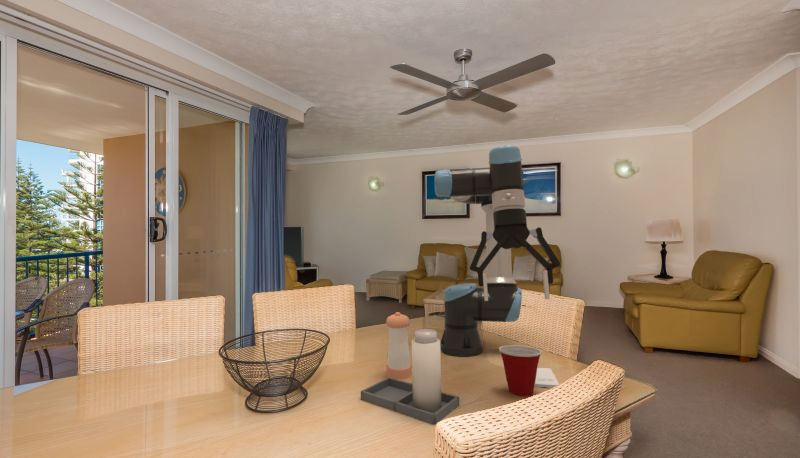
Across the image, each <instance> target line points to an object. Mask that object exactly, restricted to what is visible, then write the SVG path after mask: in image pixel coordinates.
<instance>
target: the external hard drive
mask: <svg viewBox="0 0 800 458" xmlns="http://www.w3.org/2000/svg"><path fill="white" fill-rule="evenodd" d="M557 385H560V383H559V382H558V379H557V377H556V376H555V374H554V371H552V368H550V367H549V368H548V367H537V374H536V380H535V384H534V388H536V389H537V388H540V389H541V388H546V389H553V388H552V387H555V386H557Z"/></svg>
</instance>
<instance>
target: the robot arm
mask: <svg viewBox="0 0 800 458" xmlns="http://www.w3.org/2000/svg"><path fill="white" fill-rule="evenodd" d="M520 150H521V149H520V148H519V147H518V146H516V145H513V144H507V145H499V146H496V147H493V148H492V149H490V150H489V153H488V164H489V167H474V168H457V169H456V168H455V169H452V168H451V169H449V168H446V169H440V170H436V171H435V173H434V179H433V180H434V193H435V196H436V197H438V198H450V199H451V200H453V201H455V202H458V203H463V204H469V205H481V206H480V208H481V210H482V211H483V212H484V213H485V231H481V235H480V237H481V238H480V242H479V244H478V247H477V249H476V252H475V254H474V256H473V259H472V262H471V264H470V265H469V269H470V270H471V271H472V272H475V273H477V279H478V285H477V283H473V282H472V283H470V282H469V283H467V282H466V283H458V284H454V285H449V286H447V287H446V288H445V289H444V293H443V294H444V295H443V296H444V299H443V302H444V329H443V332H442V336H441V339H440V352H441V353H444V354H446V355H450V356H455V357H473V356H478V355H480V354H482V353H483V352H484V343H483V341H482V337H481V334H480V332H479V329H478V327H479V326H478V322H492V323H493V322H499V323H511V322H512V323H513V322H515V323H516V322H517V321H518V320H519V318H520V315H521V310H522V299H523V295H522V293H523V292H522V291H523V290H522V288H520V287H517V282H516V281H515V280H514V279H513V271H512V270H513V268H512V264H513V263H512V249H515V250H516V249H521V248H523V249H525V250H526V251H527V253H529V254H530V255H531V256H532V257H533V258H534V259H535V260H536V261H537V262H538V263H539V264H540V265H541V266H542V267H543V268H544V269H545V270H542V271H541V272H542V273H541V274H542V283H543V293H544V299H545V300H550V299H551V297H550V287H549V285H553V283H554V275H553V270H554V269H555V268H558V267H560V266H561V262H560V261H559V259H558V257H557V256H556V255H555V253H554V251H553V250H552V248H551V247H550V245H549V243H548V242H547V240H546V239H545V237H544V234H543V230H542V228H541V227H537V228H533V229H529V227H528V224H527V223H528V222H527V211H526V210H525V209H524V208H526V202H525V191H524V180H523V166H522V165H523V164H522V160H523V159H522V155H521V151H520ZM530 235H531V236H532V237H533V238H534V239H536V240H537V242H538V244H539V245H540V247H541V248H542V250H543V251H544V252H545V254H546V257H548V259H549V261H550V262H551V263H549V261H547V259H546V258H544V257H543V256H542V255H541V254H540V253H539V252H538V251H537V250H536V249H535V248H534V247H533V246H532V245H531V244H530V243H529V242H528V241H527V239H528V238H529V237H530ZM485 247H486V258H485V259H484V260H483V261H482V263H481V264H480V265H479V266H478V263H479V261H480V259H481V257H482V254H483V252H484V249H485ZM485 269H486V272H484V271H485ZM478 286H479V287H478Z"/></svg>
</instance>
